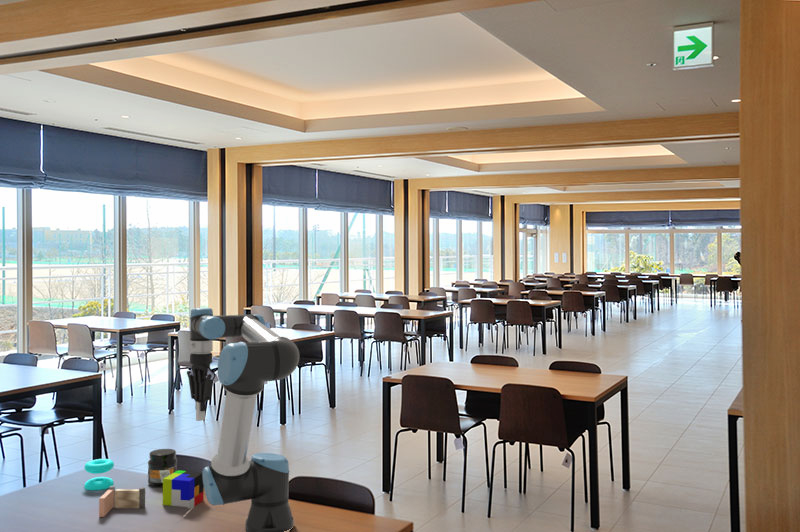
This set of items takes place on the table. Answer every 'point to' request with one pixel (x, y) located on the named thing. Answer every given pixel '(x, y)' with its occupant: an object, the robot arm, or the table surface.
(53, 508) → the table surface
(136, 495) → the rail
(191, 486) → the puzzle toy
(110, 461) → the donuts
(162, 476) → the supplement container
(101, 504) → the salmon gate panel
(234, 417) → the robot arm
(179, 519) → the table surface
